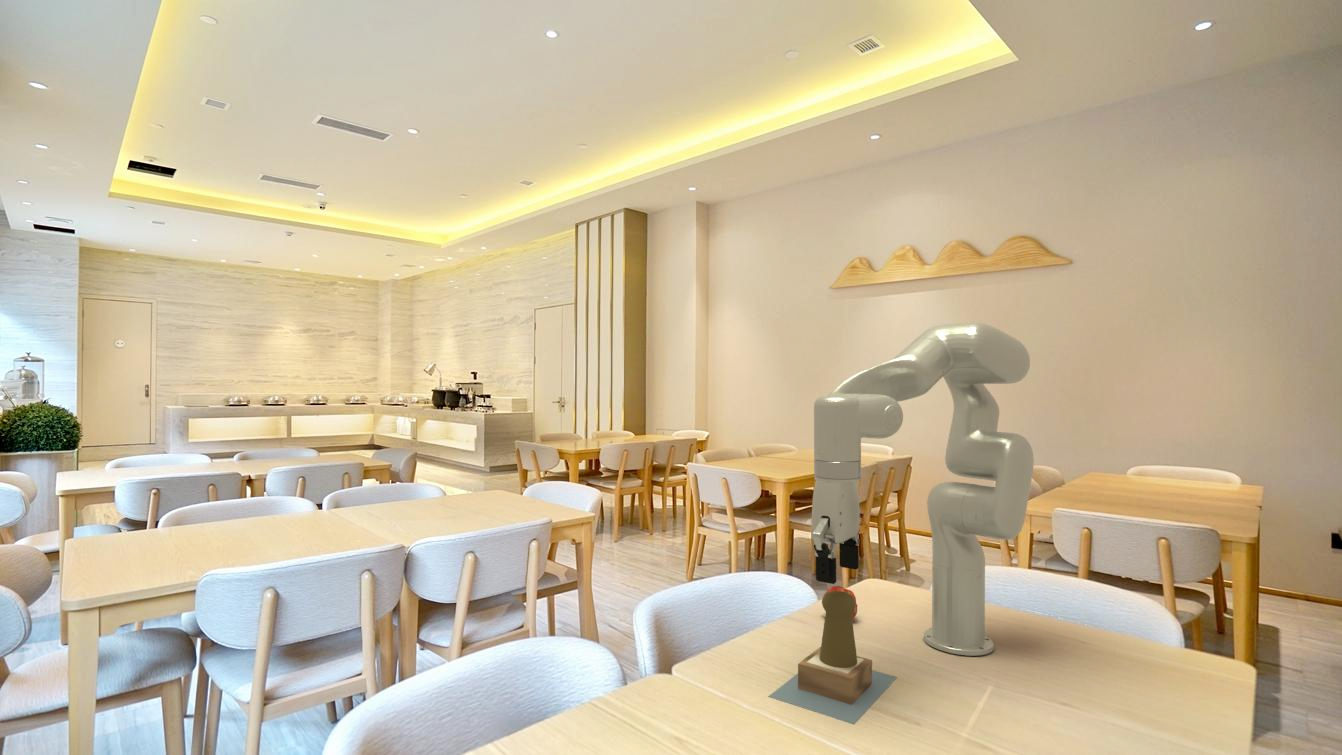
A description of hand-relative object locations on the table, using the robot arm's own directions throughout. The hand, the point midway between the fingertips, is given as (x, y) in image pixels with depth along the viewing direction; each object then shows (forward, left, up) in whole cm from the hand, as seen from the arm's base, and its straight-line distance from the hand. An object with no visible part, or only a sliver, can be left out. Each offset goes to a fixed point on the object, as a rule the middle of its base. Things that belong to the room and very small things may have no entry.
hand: (838, 574), depth 108 cm
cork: (0, 0, -14) cm, 14 cm away
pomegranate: (-34, -13, -19) cm, 41 cm away
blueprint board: (0, 0, -19) cm, 19 cm away
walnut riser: (0, 0, -18) cm, 18 cm away
